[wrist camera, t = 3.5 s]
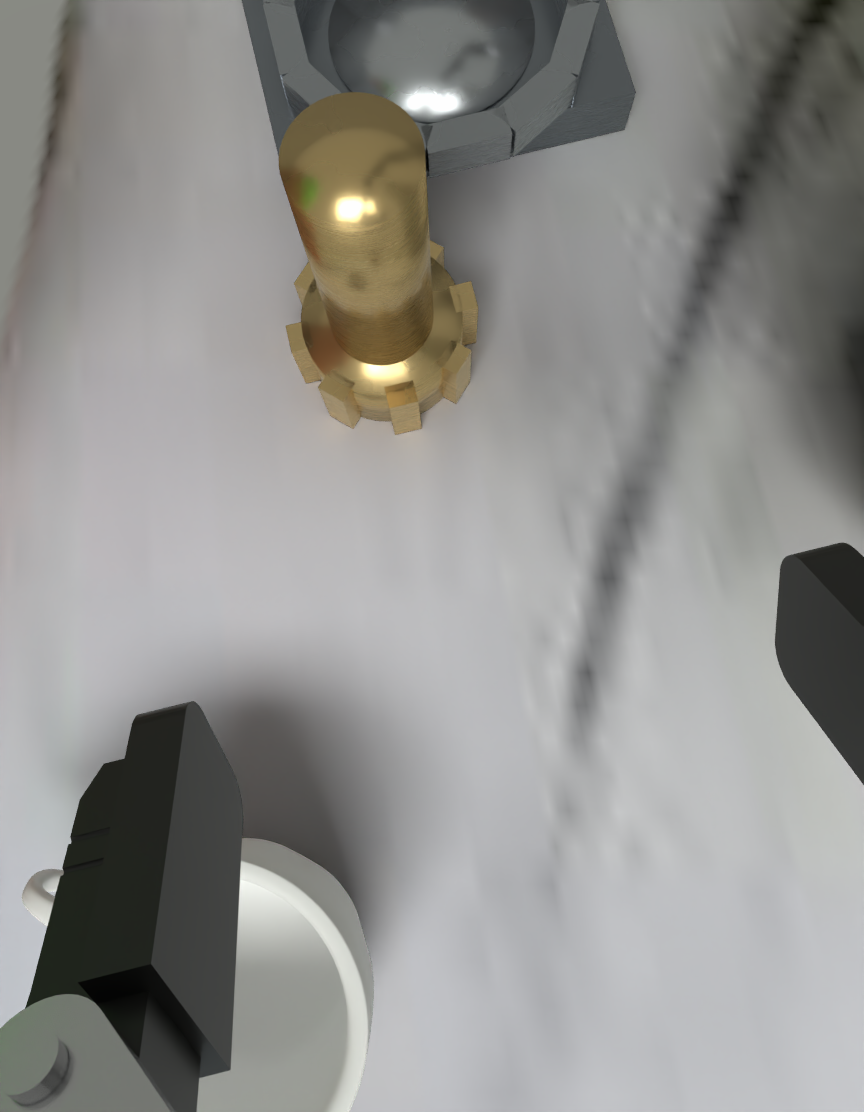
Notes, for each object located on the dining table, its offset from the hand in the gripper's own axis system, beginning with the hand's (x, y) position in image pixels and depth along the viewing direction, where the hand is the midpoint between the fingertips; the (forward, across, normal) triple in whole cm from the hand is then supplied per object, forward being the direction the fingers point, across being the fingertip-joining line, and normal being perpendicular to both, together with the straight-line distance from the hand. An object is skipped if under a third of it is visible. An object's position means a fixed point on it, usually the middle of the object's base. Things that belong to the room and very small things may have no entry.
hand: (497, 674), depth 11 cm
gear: (+19, 0, +2) cm, 19 cm away
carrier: (+27, -4, -6) cm, 28 cm away
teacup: (+7, +9, +14) cm, 18 cm away
